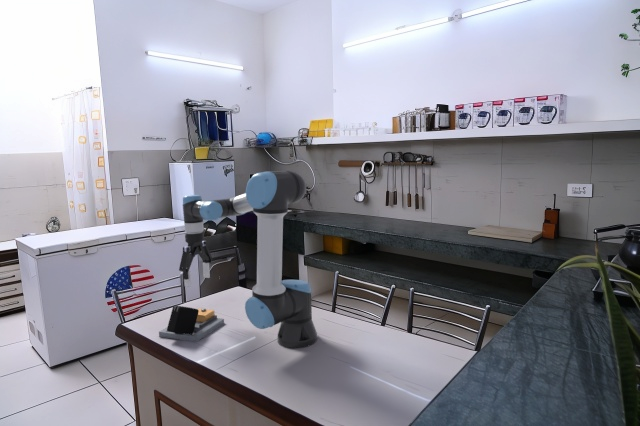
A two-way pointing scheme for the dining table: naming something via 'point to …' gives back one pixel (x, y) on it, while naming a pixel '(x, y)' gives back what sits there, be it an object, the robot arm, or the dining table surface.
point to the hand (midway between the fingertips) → (197, 282)
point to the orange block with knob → (204, 315)
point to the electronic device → (182, 320)
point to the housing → (195, 330)
